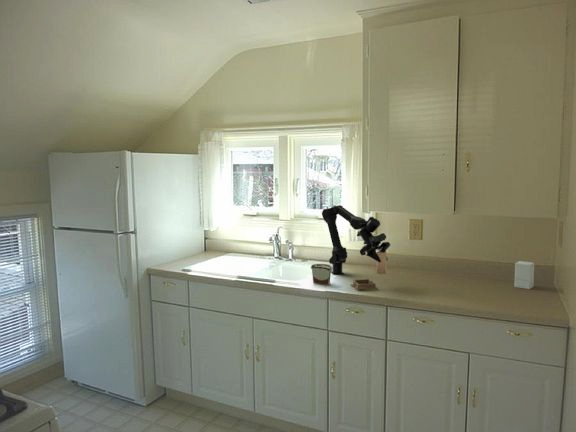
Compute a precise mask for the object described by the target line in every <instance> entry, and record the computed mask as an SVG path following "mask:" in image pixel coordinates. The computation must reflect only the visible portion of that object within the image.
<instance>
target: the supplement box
mask: <svg viewBox="0 0 576 432" xmlns="http://www.w3.org/2000/svg"><path fill="white" fill-rule="evenodd" d="M534 276H535V262H530V261H523V260H519V261H517V262H515V263H514V282H513V283H514V286H513V287H514V288H521V289H524V290H525V289H526V290H530V289H532V288H534V284H535V281H534V280H535V277H534Z"/></svg>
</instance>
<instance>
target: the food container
mask: <svg viewBox="0 0 576 432" xmlns="http://www.w3.org/2000/svg"><path fill="white" fill-rule="evenodd" d="M331 265H332V264H331ZM331 265H330V264H327V263H314V264H311V266H310V269H311V274H312V283H313V284H314V285H315V284H317V285H322V286H330V285H331V284H330V283H331V274H332V273H331V271H333V266H331Z"/></svg>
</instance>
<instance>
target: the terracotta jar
mask: <svg viewBox="0 0 576 432" xmlns="http://www.w3.org/2000/svg"><path fill="white" fill-rule="evenodd" d="M376 253H377V255H378V257H379V258H380V260H381V262H378V261H376V274H378V275H386V274H387V261H388V260H387V259H388V254H387V251H386V252H379V251H376Z"/></svg>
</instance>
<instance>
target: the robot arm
mask: <svg viewBox="0 0 576 432" xmlns="http://www.w3.org/2000/svg"><path fill="white" fill-rule="evenodd" d="M337 215H339V216H340V217H342V218H343V219H344V220H346V221H347V222H348V223H349V225H350V226H351V228H352V229H353V230H355V231H356V230H358V231H357V233H356V237H361V239H362V240H363V246H362V247H361V248H360V250H359V254H360V255H361V256H365V255H366V257H369V258H371V259H373V260H375V261H376V262H377V261H378V262H381V260H380V258H379V257H378V255H377V252H386V253H387V250H388V249H389V247H390V246H391V243H390V242H389V241H386V239H387V236H386V234H385V233H384V232H382V233H379V234H378V235H373V233H375V232H376V230H377V229H378V228H379V227H380V226H381V221H380V220H378V219H377V218H374V216H370V217H369V218H368V220H366V219H364V218H363V217H360V216H356V215H355V214H353V213H352V212H351V211H349V210H348V209H346V208H345V207H343V205H341V204H337V205H335V206H332V207H329V208H324V209H323V210H322V211H321V217H322V219H323V221H324V222H325V223H326V224H327V227H328V231H329V235H330V240H331V243H332V244H331V245H332V250H331V254H332V255H331V257H330V258H329V259H328V261H329V265H330V264H331V265H332V271H331V274H332V275H345V272H343V264H346V261H347V258H348V252H347V248H346V247H344V246H343V245H342V243H341V239H340V238H341V237H340V234H339V230H338V227H337V223H336V222H337V217H338V216H337ZM381 242H382V243H381ZM387 261H388V258H387Z"/></svg>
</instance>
